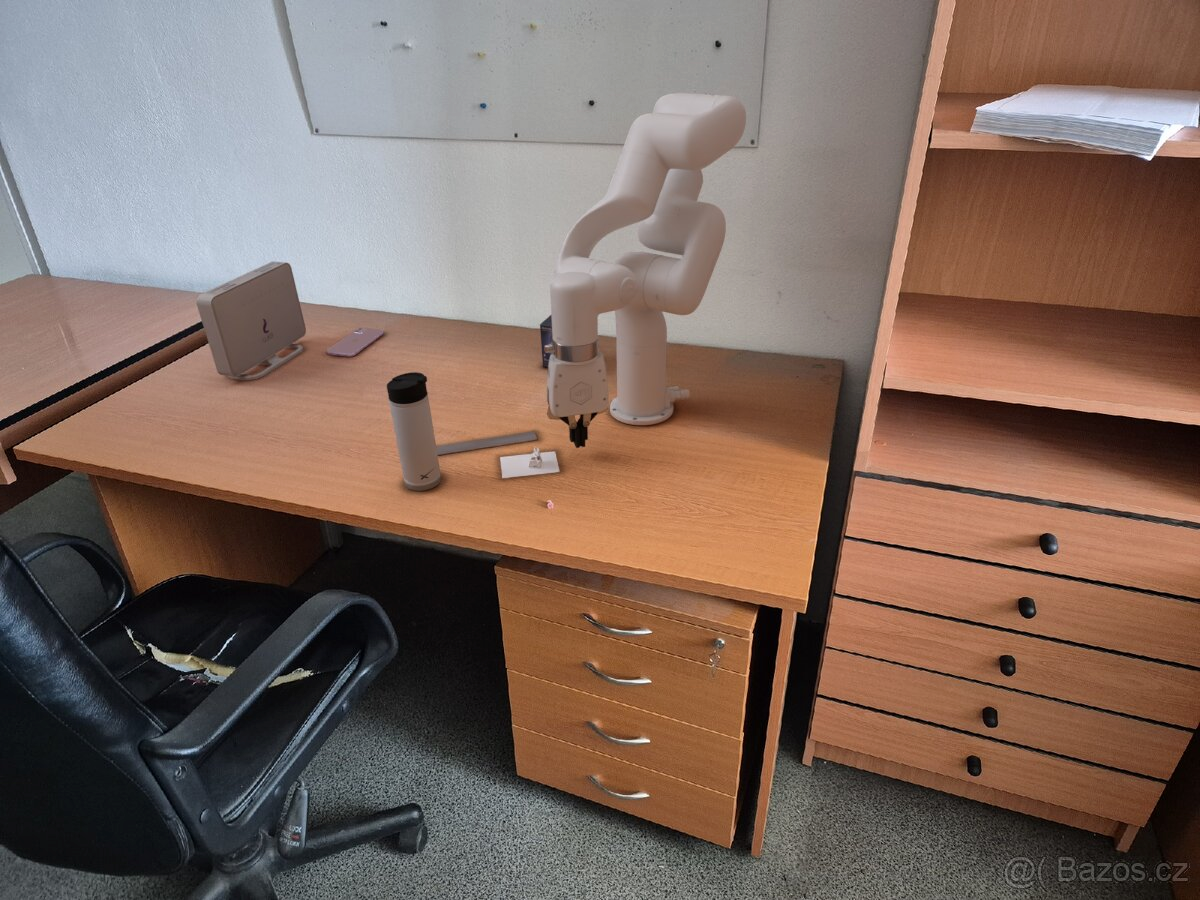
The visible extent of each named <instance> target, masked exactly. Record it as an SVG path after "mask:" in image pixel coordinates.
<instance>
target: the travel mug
mask: <svg viewBox="0 0 1200 900" xmlns="http://www.w3.org/2000/svg"><path fill="white" fill-rule="evenodd" d="M427 382H428V377H427V376H426V375H425V374H424V373H422V372H418V371H417V372H416V371H415V372H414V371H413V372H406V373H402V374H399V375H396V376H394V377H393V378H391V380H390V381H388V383H386V392H387V395H388V403H389V408H390V414H391V421H392V425H393V429H394V435H395V440H396V441H395V442H396V446H397V451H398V456H399V463H400V467H401V472H402V477H403V482H404V486H405V487H406V488H407V489H409V490H411V491H416V492H423V491H424V492H425V491H428V490H431V489H433V488H435V487H437V486H438V485H439V484H440V483H441V481H442V474H441V467H440V462H439V457H438V455H437V448H436V446H437V442H436V436H435V430H434V424H433V418H432V411H431V405H430V398H429V392H428V390H427Z"/></svg>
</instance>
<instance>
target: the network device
mask: <svg viewBox="0 0 1200 900" xmlns="http://www.w3.org/2000/svg"><path fill="white" fill-rule="evenodd" d="M300 302H301V301H300V298H299V294H298V290H297V285H296V282H295V277H294V272H293V269H292V265H291V264H290V262H289V263H288V262H284V261H270V262H268V263H266V264H264V265H261V266H259V267H257V268H254V269H253V270H250V271H249V272H246V273H244V274H241V275H240V276H238V277H235V278H233V279H231V280H229V281H226V282H225V283H222V284H220V285H217V286H216V287H214V288H211V289H210V290H207V291H205V292H203V293H201V294H199V295H198V296H197V297H196V307H197V310H198V314H199V317H200V319H201V323H202V326H203V330H204V333H205V336H206V339H207V342H208V346H209V348H210V352H211V355H212V358H213V362H214V366H215V368H216V372H217V373H218V374H219V375H220V376H227V377H228V378H230V379H234V380H240V381H253V380H257V379H261V378H262V377H265V376H266V375H268V374H270V373H271V372H272V371H274V370H275V369H277V368H279V367H280V366H282V365H284V364H285V363H287V362H289V361H290V360H291V359H293V358H294V357H296V356H298V355H299V354H301V353H302V352H303V351H304V348H303V345H302V344H299V343H296V342H297V341H299V340H301V339H303V337H304V336H305V335H306V333H307V328H306V324H305V319H304V315H303V310H302V306H301V303H300ZM286 348H288V349H295V350H293V351H292V352H291V353H289V354H287V355H286V356H283V357H278V356H277V353H279V352H281V351H282V350H284V349H286ZM258 365H264V366H268V367H266V368H265V369H263V370H262V371H260V372H258V373H257V374H254V375H249V374H245V373H246V372H248V371H250V370H251V369H253V368H255V367H256V366H258Z"/></svg>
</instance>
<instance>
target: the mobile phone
mask: <svg viewBox="0 0 1200 900" xmlns="http://www.w3.org/2000/svg"><path fill="white" fill-rule="evenodd" d="M384 334H385V332H384V330H383V329H374V328H365V327H359V328H356V329H355V330H354V331H352V332H351V333H349V334H348V335H346V336H345V337H343V338H342V339H341V340H338V342H336V343H334V344H333V345H332V346H331V347H329V348H328V349H326V351H325V353H326V354H327V355H329V356H338V357H347V358H352V357H354V356H356V355H357V354H359V353H360V352H361V351H363V350H364V349H365V348H367V347H368V346H369V345H371V344H372V343H374V342H375V341H376V340H378V339H379V338H380V337H382V336H383V335H384Z"/></svg>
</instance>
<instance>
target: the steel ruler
mask: <svg viewBox="0 0 1200 900" xmlns="http://www.w3.org/2000/svg"><path fill="white" fill-rule="evenodd" d="M534 441H535V442H536V441H538V437H537V435H536V432H535V431H534V430H533V431H527V432H521V433H519V432H518V433H514V434H507V435H502V436H494V437H487V438H482V439H475V440H468V441H462V442H461V441H460V442H456V443H455V442H454V443H449V444H442V445H436V448H437V455H438V456H445V455H451V454H457V453H458V454H459V453H464V452H471V451H476V450H483V449H490V448H495V447H501V446H507V445H515V444H520V443H521V444H523V443H527V442H534Z"/></svg>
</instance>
